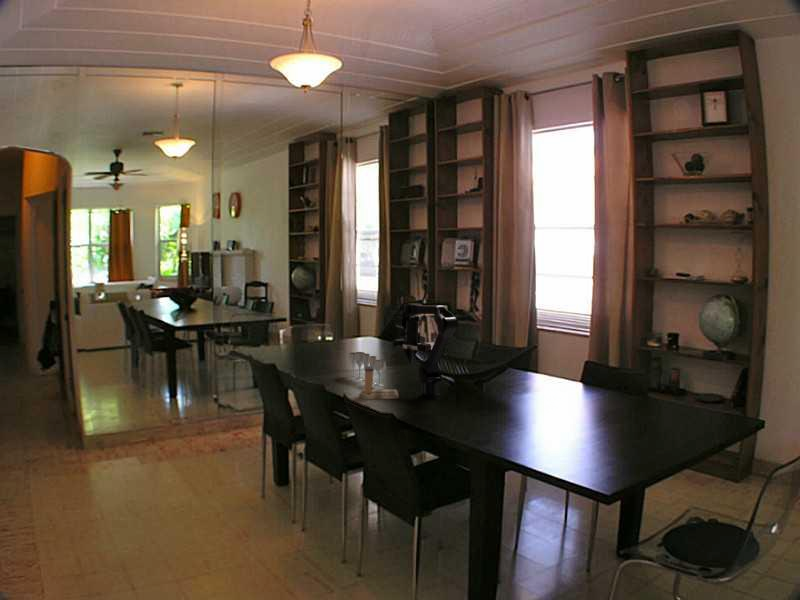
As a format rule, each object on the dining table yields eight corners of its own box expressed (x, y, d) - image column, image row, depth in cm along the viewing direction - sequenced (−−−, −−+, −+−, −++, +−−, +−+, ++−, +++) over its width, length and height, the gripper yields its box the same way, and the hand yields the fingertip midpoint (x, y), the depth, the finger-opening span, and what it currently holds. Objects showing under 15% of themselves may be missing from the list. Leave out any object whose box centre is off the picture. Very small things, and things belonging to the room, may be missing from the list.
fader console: (396, 392, 276) (396, 389, 276) (398, 398, 266) (398, 394, 266) (360, 393, 274) (360, 389, 274) (362, 398, 264) (362, 395, 264)
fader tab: (371, 390, 272) (372, 366, 271) (372, 393, 266) (373, 368, 265) (363, 390, 272) (364, 366, 271) (364, 393, 266) (365, 368, 265)
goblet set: (345, 376, 308) (346, 350, 307) (355, 374, 312) (355, 349, 310) (378, 387, 286) (378, 359, 285) (387, 385, 290) (388, 358, 288)
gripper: (438, 330, 282) (437, 363, 284) (406, 326, 293) (405, 357, 295) (425, 333, 274) (423, 367, 275) (392, 328, 285) (391, 361, 286)
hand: (411, 363), depth 283 cm, fingers closed
